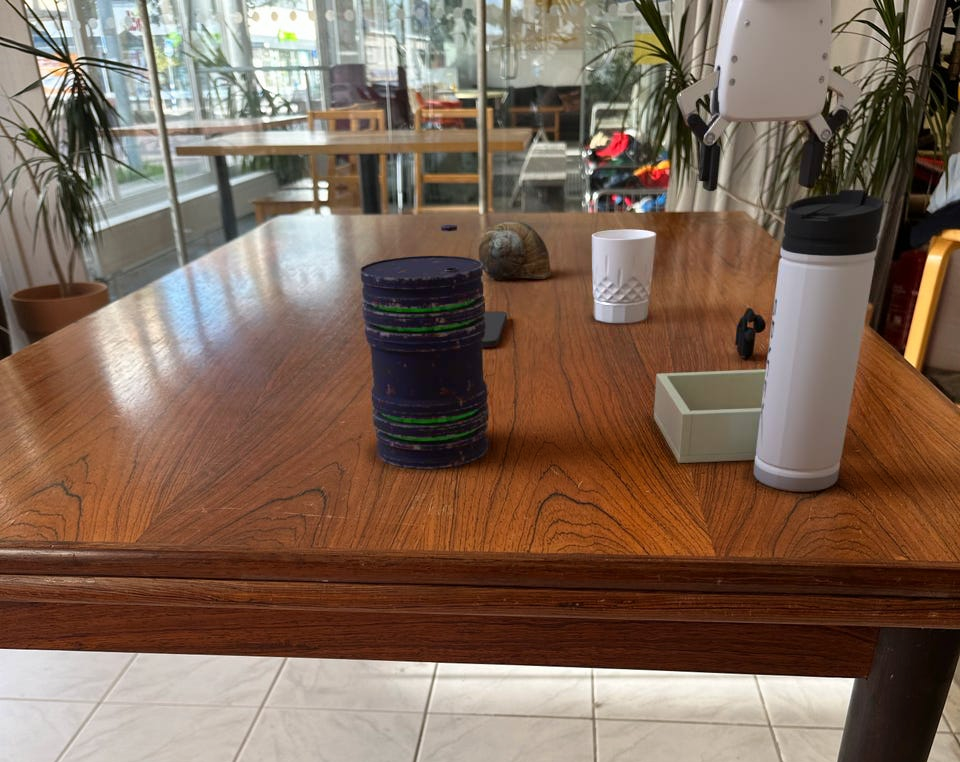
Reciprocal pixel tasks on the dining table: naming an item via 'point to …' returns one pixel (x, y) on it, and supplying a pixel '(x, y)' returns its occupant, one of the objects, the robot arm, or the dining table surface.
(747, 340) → the wireless earbuds
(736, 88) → the robot arm
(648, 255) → the white cup
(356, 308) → the dining table surface
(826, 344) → the travel mug
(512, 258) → the seashell
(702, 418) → the box
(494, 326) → the phone
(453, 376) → the storage jar
